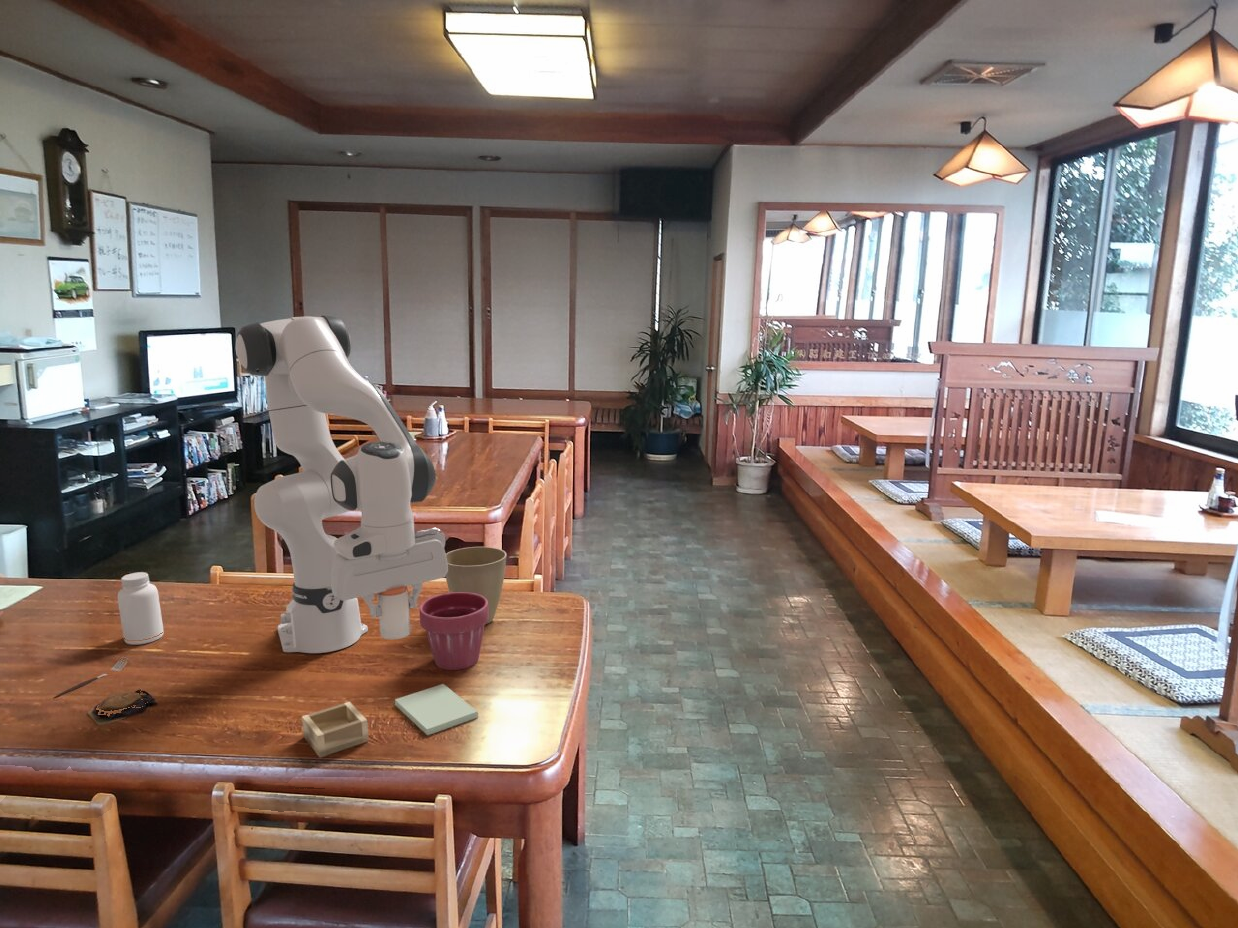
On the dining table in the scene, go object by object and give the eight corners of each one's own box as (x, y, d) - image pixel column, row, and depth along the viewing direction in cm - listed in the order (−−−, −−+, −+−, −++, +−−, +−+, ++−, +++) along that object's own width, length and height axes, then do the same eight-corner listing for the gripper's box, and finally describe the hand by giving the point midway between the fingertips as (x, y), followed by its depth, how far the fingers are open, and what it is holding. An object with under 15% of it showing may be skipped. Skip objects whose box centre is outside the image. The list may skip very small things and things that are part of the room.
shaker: (376, 632, 149) (372, 584, 148) (403, 625, 152) (400, 578, 151) (387, 641, 145) (383, 592, 143) (415, 634, 148) (412, 586, 146)
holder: (303, 737, 147) (301, 716, 147) (351, 721, 152) (349, 701, 152) (319, 757, 141) (317, 736, 140) (368, 740, 146) (367, 719, 145)
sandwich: (99, 730, 152) (96, 712, 151) (85, 714, 158) (83, 696, 157) (162, 709, 159) (160, 691, 159) (147, 694, 165) (145, 677, 164)
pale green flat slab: (395, 705, 158) (394, 699, 158) (443, 689, 164) (443, 683, 164) (427, 735, 147) (426, 729, 147) (478, 717, 153) (477, 711, 153)
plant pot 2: (477, 678, 169) (474, 618, 166) (411, 673, 171) (407, 614, 168) (499, 648, 182) (497, 593, 180) (438, 644, 185) (435, 589, 182)
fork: (49, 699, 163) (47, 689, 163) (122, 665, 178) (121, 656, 177) (58, 701, 162) (56, 692, 162) (131, 666, 177) (130, 658, 177)
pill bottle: (115, 642, 188) (106, 579, 185) (147, 629, 196) (138, 568, 192) (141, 647, 185) (131, 583, 182) (172, 634, 193) (163, 572, 189)
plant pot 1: (520, 622, 196) (517, 557, 193) (461, 638, 188) (457, 570, 185) (492, 603, 208) (489, 542, 205) (435, 617, 200) (431, 553, 197)
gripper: (436, 522, 154) (440, 593, 157) (324, 543, 142) (331, 619, 145) (451, 529, 149) (455, 603, 152) (336, 552, 137) (343, 631, 140)
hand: (394, 611), depth 148 cm, fingers closed on shaker, 5 cm apart
